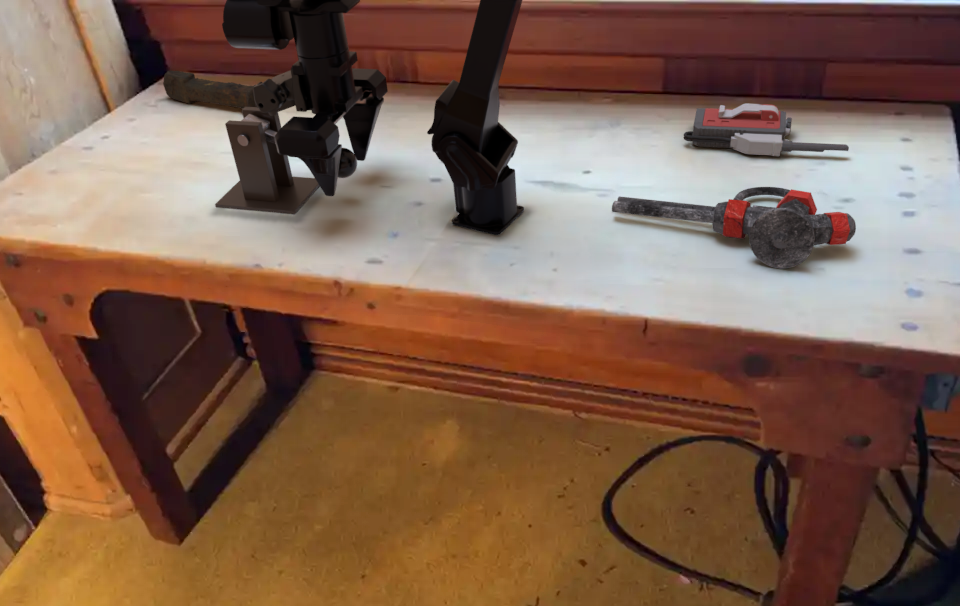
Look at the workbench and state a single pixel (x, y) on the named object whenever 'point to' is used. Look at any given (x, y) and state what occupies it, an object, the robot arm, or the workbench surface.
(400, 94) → the workbench surface
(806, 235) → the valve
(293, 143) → the robot arm
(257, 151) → the bracket
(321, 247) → the workbench surface
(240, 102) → the hand tool
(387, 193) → the workbench surface
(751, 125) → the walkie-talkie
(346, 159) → the lever
